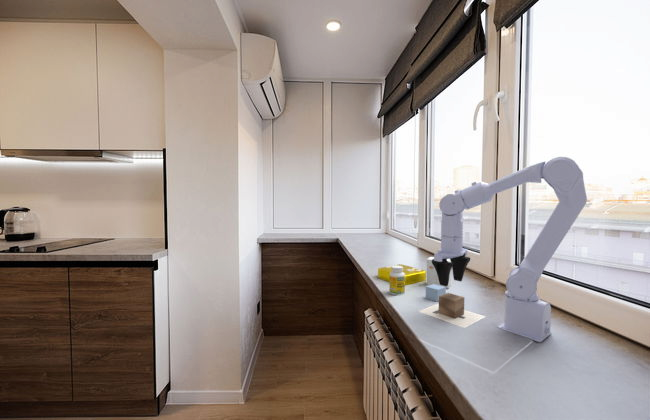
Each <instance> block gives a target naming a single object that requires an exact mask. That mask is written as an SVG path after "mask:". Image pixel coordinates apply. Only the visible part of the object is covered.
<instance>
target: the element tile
mask: <svg viewBox="0 0 650 420" xmlns="http://www.w3.org/2000/svg"><path fill="white" fill-rule="evenodd" d="M392 266H402V267H403V271H402V272H403V273H404V274H405V287H406V286H411V285H415V284H418V283H422V282H427V270H425V269H421V268H416V267H413V266H409V265H404V264H401V263H400V264H395V265H389V266H383V267H379V268H378V269H377V278H378V279H380V280H382V281H386V282H389V274H390V272H392V270H391V267H392Z"/></svg>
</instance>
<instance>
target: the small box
mask: <svg viewBox="0 0 650 420" xmlns="http://www.w3.org/2000/svg"><path fill="white" fill-rule="evenodd" d="M432 259H434V256H429V257H427V259H426V286H429V285H432V284H435V285H439V286H443V285H440V283H439V279H438V275H437V272H436V269H435V267H434V265H433V264H432ZM447 261H448V262H451V260H450V259H447ZM451 282H452V270H451V271H450V275H449V283H448V286H443V287H446V290H449V288H450V287H451V285H452V283H451Z"/></svg>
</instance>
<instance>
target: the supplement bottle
mask: <svg viewBox="0 0 650 420" xmlns="http://www.w3.org/2000/svg"><path fill="white" fill-rule="evenodd" d="M391 266H392V267H391V270H392V272H390V274H389V285H388V286H389V289H388V290H389V294H390V295H392V296H398V295H399V296H400V295H404V294H405V291H406V290H405V289H406V286H405V274H404V273H403V272H402V271H403V267H402V266H394V265H391Z"/></svg>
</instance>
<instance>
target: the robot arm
mask: <svg viewBox="0 0 650 420" xmlns="http://www.w3.org/2000/svg"><path fill="white" fill-rule="evenodd" d="M542 179H543V180H544V181H545V182H546V183H547V185H549V186H550V187H551V188H552V189H553V191H554V193H555V196H556V198H557V199H558V203H557V205H556V206H555V208H554V209H553V211H552V213H551V214H550V216H549V217H548V219H547V221H546V222H545V224H544V226H543V227H542V229H541V231H540V232H539V233H538V236H537V237H536V239H535V240H534V242H533V244H532V245H531V247H530V249H529V250H528V251H527V253H526V255H525V257H524V258H523V260H522V261H521V263H520V264H519V265H518V266H517V267H515V268H512V269H511V271H510V272H509V275H508V278H507V279H506V282H505V287H506V288H505V289H507V290H505V292H504V317H503V319H504V321H503V322H502V323H501V324H500V325H498V326H497V328H498V329H501V330H504V331H506V332H510V333H513V334H516V335H518V336H522V337H525V338H528V339H531V340H532V341H535V342H537V343H542V342H543V341H544V340H545V339H547V337H549V336H550V335H551V334H552V332H551V324H552V322H551V321H552V319H551V318H552V317H551V316H552V306H551V304H550V302H547V301H544V300H542V299H540V296H539V295H538V294H537V292H538V285H537V284H538V282H539V279H540V278H541V276H542V275H543V273H544V270H545V268H546V266H547V265H548V263H549V262H550V260H551V259H552V258H553V255H555V253H556V251H557V250H558V248H559V246H560V245H561V243H562V242H563V240H564V239H565V237H566V236H567V234H568V233H569V230H570V229H571V227H572V226H573V224H574V223H575V222H576V220H577V219H578V217H579V215H580V214H581V212H582V211H583V209H584V207H585V206H586V205H587V201H588V198H587V193H586V192H587V191H586V187H585V182H584V181H585V180H584V173H583V171H582V169H581V167H580V166H579V165H578V164H577V162H576V161H575V160H574V159H572V158H570V157H567V156H558V157H556V156H555V157H554V158H551V159H549V160H548V161H547V162H546V161H541V162H538V163H535V164H532V165H529V166H526V167H524V168H522V169H519V170H517V171H514V172H512V173H510V174H508V175H505V176H504V177H501V178H498V179H497V180H494V181H492V182H490V183H487V182H484V181H479V182H478V181H473V182H472V183H471V186H470V185H469V186H468V187H465V188H463V189H460V190H459V189H456V190H454V194H453V193H447V194H445V195H444V196H443V197H442V198H441V199H440V201H439V204H438V205H439V209H440V211H441V220H440V222H441V224H440V225H441V226H440V235H441V236H440V248H439V249H437V252H436V253H434V254H433V257H434V259H432V264H433V265H434V267H435V269H436V272H437V275H438V279H439V283H440V285H443V286H448V283H449V275H450V271H451V272H452V276H453V277H452V278H453V281H457V282H463V279H464V276H465V271H466V268H467V266H468V265H469V262H470V261H471V257H470V256H468V248H463V243H464V242H463V239H464V237H463V235H464V234H463V232H464V231H463V229H464V226H463V225H464V220H463V212H464V211H465V210H466V211H467V210H470V209H474V208H476V207H478V206H481V205H483V204H486V203H489V202H491V201H492V199H493V196H494V195H495V194H499V193H501V192H504V191H507V190H510V189H513V188H516V187H518V186H521V185H523V184H527V183H533V184H534V183H536V184H541V183H542ZM447 259H450V260H451V262H448V261H447Z"/></svg>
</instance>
